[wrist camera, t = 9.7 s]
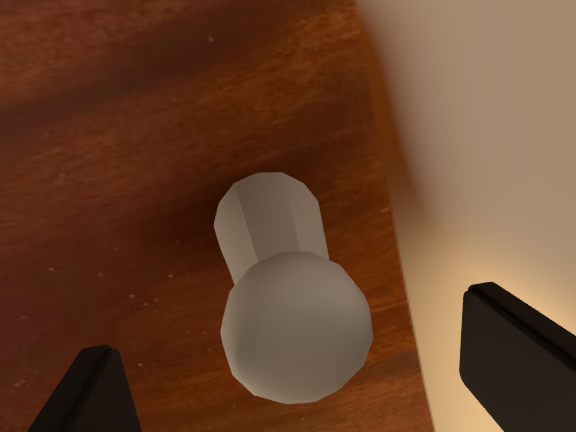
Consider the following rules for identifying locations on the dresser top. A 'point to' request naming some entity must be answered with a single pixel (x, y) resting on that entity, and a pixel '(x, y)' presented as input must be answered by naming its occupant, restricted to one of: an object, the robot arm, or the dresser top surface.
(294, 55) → the dresser top surface
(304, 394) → the salt shaker
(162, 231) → the dresser top surface
